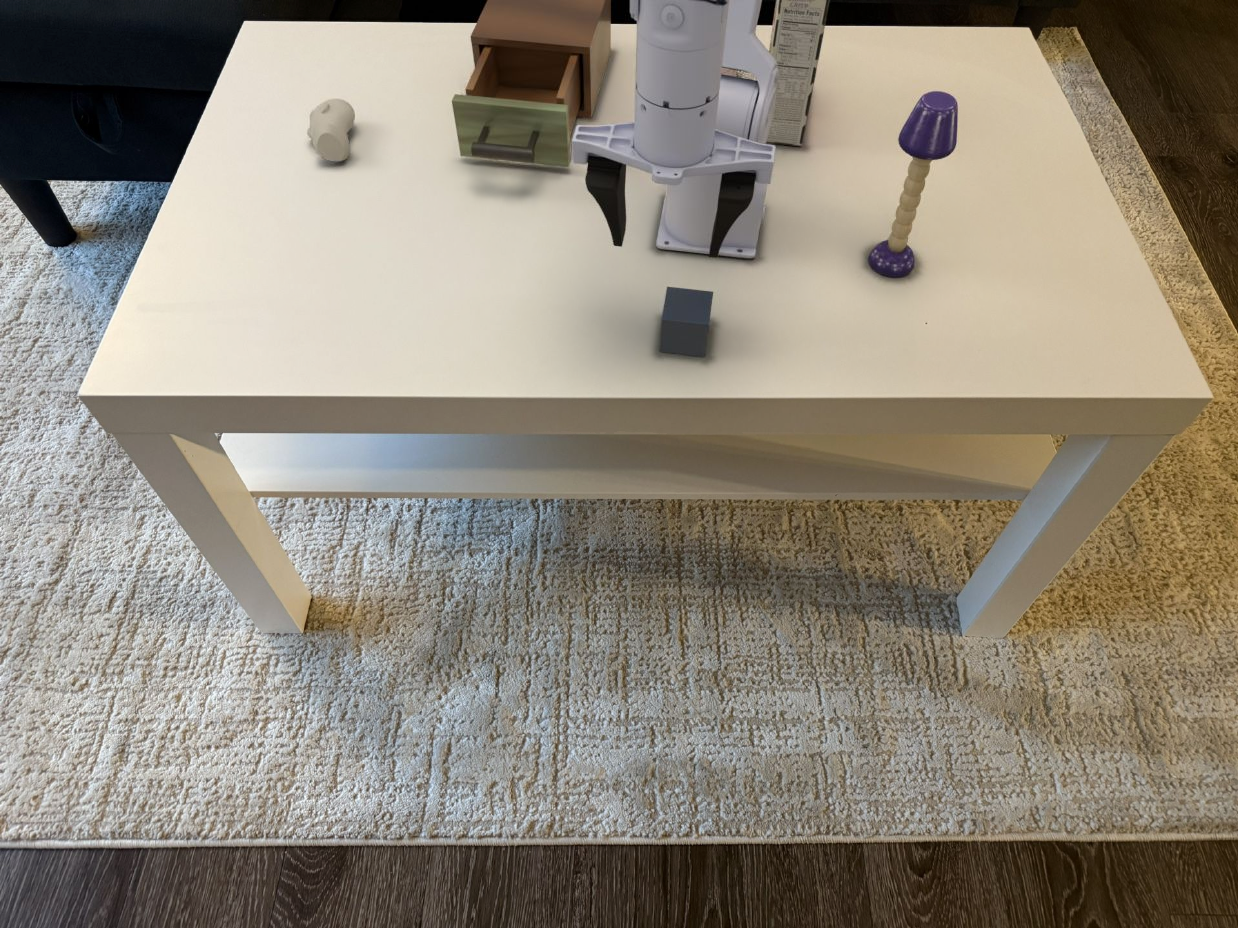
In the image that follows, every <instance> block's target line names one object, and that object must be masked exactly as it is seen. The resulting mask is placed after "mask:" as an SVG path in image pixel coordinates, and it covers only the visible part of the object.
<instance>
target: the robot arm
mask: <svg viewBox="0 0 1238 928" xmlns="http://www.w3.org/2000/svg"><path fill="white" fill-rule="evenodd" d="M762 2H763V0H629V14H630V17H631V19H633V20H634V21H636V45H635V46H636V47H635V83H634V118H633V119H634V120H633V121H630V122H619V123H612V124H611V123H610V124H599V125H585V124H577V125H576V126H575V129H574V131H573V136H572V139H571V152H572V163H573V164H578V165H586V164H587V167H586V174H585V178H584V182H585V186H586V190H587V192H589V194H590V195H591V196H592V197H593V199H594V200H595V202H596V203H597V205H598V206H599V208H600V209H601V212H602V214H603V216H604V218H605V220H606V223H607V226H608V229H609V231H610V235H611V239H612V245H613V246H614V247H621V248H622V247H623V243H624V239H625V236H626V230H627V202H626V183H627V181H626V180H627V179H626V178H627V166H628V167H631V168H635V169H638V170H640V171H643V172H646V173H649V174H651V180H652V182H653V183H655V184H656V185H657V184H658V185H664V186H665V185H666V194H665V195H664V201H663V205H662V211H661V216H660V221H659V226H658V230H657V236H656V241H655V245H656V248H658V249H661V250H668V251H678V252H686V253H694V254H695V253H696V254H706V255H708V257H709V258H715V259H716V258H718V257H719V256H724V257H731V258H732V257H733V258H742V259H754V258H755V257H756V253H757V247H758V241H759V236H760V235H759V234H760V230H761V229H760V228H761V225H763V224H764V221H765V215H766V207H767V206H766V204H765V201H766V194H767V189H768V185H770V184H771V182H772V176H773V171H774V165H775V157H776V148H777V147H776V144H768V143H766V141H767V138H768V134H769V130H770V126H771V122H772V117H773V112H774V107H775V100H776V89H777V84H778V79H779V70H778V65H777V62H776V60H775V59H774V57H773V56H772V55H771V53H770V52H769V49H768V48H766V46H765V45H764V44H763V42H762V41H761V40H760V39H759V38H758V36H757V33H756V31H757V26H758V20H759V17H760V11H761V8H762ZM722 68H726V69H732V70H737V72H742V73H743V72H744V73H750V74H751V75H752V76H753V77H754V78H755V79H752V78H746V77H739V76H736V77H735V76H729V75H724V74H721V71H722Z"/></svg>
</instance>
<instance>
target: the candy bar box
mask: <svg viewBox="0 0 1238 928" xmlns="http://www.w3.org/2000/svg"><path fill="white" fill-rule="evenodd" d="M830 3H831V0H775V6H774V12H773V20H772V25H771V26H772V27H771V34H770V41H769V46H768V47H769V48H768V51H769V52H770V53H771V55H772V56H773V57H774V59H775V60H776V62H777V65H778V70H779V79H778V84H777V89H776V100H775V107H774V112H773V117H772V122H771V126H770V130H769V134H768V138H767V141H766V144H768V145H783V146H784V145H785V146H792V147H803V143H804V138H805V133H806V128H807V123H808V118H809V113H810V107H811V103H812V102H811V101H812V98H813V91H814V87H815V80H816V76H817V71H818V66H819V61H820V55H821V50H822V45H823V41H824V40H823V39H824V34H825V27H826V22H827V17H828V12H829V9H830Z"/></svg>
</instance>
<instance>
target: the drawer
mask: <svg viewBox="0 0 1238 928" xmlns="http://www.w3.org/2000/svg"><path fill="white" fill-rule="evenodd" d="M464 90H465V94H457V93H456V94H455V93H454V95H453V97H452V99H451V105H452V111H453V115H454V116H453V117H454V123H455V129H456V135H457V142H458V148H459V154H460V157H463V158H464V157H466V158H474V159H475V158H476V159H486V160H494V161H504V162H514V163H524V164H533V165H541V166H542V165H544V166H552V167H562V168H563V167H564V168H569V166H570V163H571V162H572V161H571V159H572V158H571V137H572V136H571V135H572V132H573V129H574V126H575V123H576V119H577V118H578V117H577V113H578V110H579V107H580V104H581V100H582V97H583V72H582V54H580V53H569V52H558V51H547V50H536V49H525V48H514V47H504V46H493V45H485V47H484V49H483V51H482V53H481V56H480V58H479V60H478V62H477V64H476V67H475V66H474V69H473V71H472V73H471V76H470V78H469V80H468V82H467V85H466V86H465V89H464Z"/></svg>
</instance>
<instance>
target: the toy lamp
mask: <svg viewBox="0 0 1238 928" xmlns="http://www.w3.org/2000/svg"><path fill="white" fill-rule="evenodd" d="M958 106H959V105H958V101H957V99H956V97H955V96H953V95H952V94H950V93H948V92H945V91H940V90H933V91H928V92H926V93H924V94H922V95H921V96H920V98H919V99H918V100H917V102H916V103H915V106H914V107H913V108H912V111H911V112H910V114H909V115H908V118H907V119H906V121H905V123H904V124H903V126H902V127H901V130H900V132H899V135H898V140H897V141H898V145H899V147H900V149H901V150H902V151H903V152H904V153H905V154H907V155H909V156H910V157H911V158H912V160H911V161H910V163H909V165H908V167H907V176H906V177H905V179H904V181H903V191H902V192H901V194H900V195H899V198H898V199H899V200H898V202H899V204H898V206H897V207H896V210H895V219H894V220H893V222H892V224H891V233H890V234H889V237H888V239H886V240H883V241H881V242H879V243H877V244H876V245H875V246H874V247H873V249H872V250H871V251H870V253H869V255H868V264H869V266H870V267H871V269H872V270H873V271H875V272H876V273H878V274H879V275H882V276H884V277H889V278H902V277H905V276H907V275H909V274H910V273H911V272H912V271H913V270H914V267H915V262H916V261H915V254H914V251H913V250H912V248H911V247H910V246H909V245H908V243H909V235H910V234H911V232H912V229H913V222H914V221H915V219H916V217H917V208H918V207H919V205H920V203H921V200H922V195H921V194H922V193H923V191H924V189H925V187H926V178H927V177H928V176H929V174H930V171H931V162H932V161H938V160H942V159H945V158H947V157H949V156H950V155H951V154H952V153H954V151H955V149H956V147H957V142H958V120H959V117H958V115H959V107H958Z"/></svg>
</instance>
